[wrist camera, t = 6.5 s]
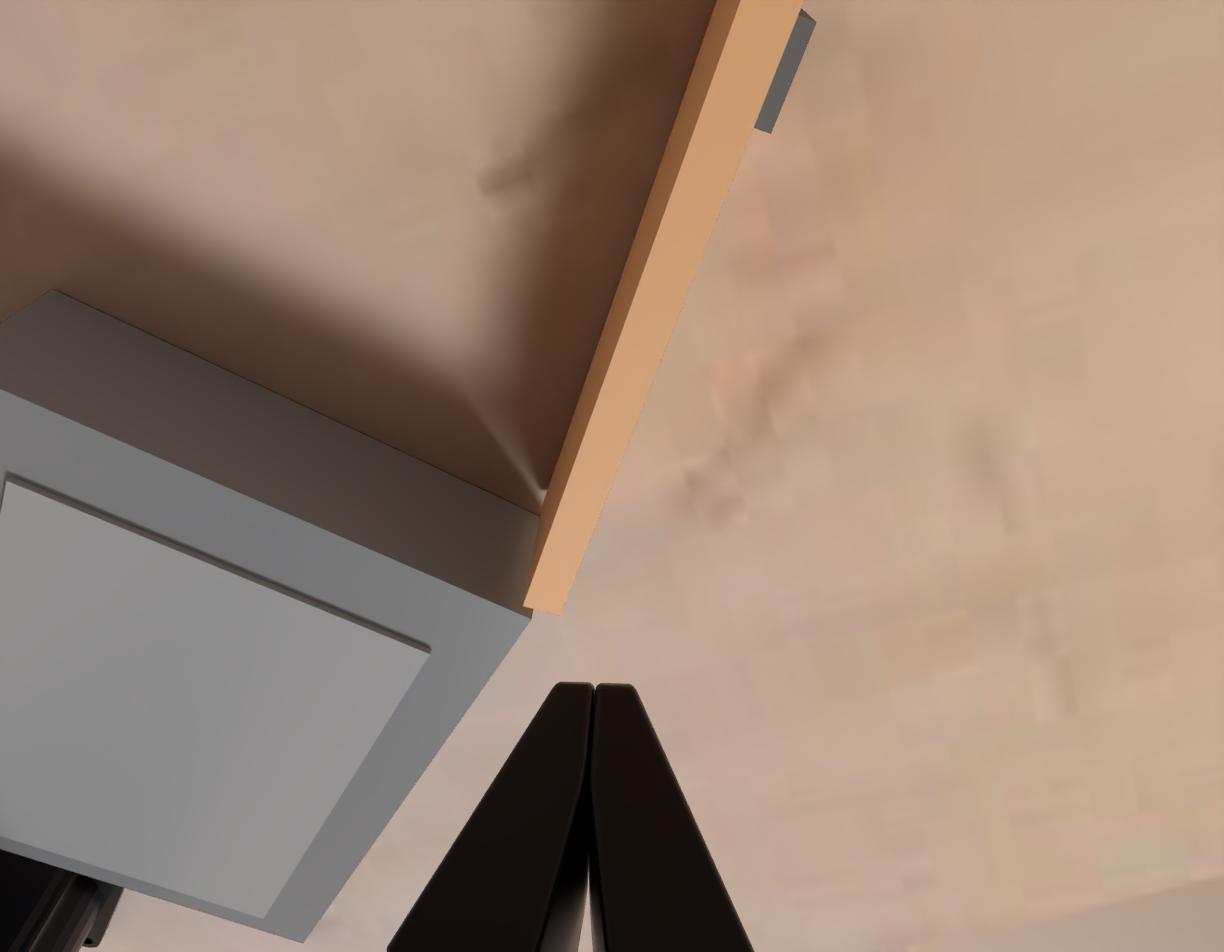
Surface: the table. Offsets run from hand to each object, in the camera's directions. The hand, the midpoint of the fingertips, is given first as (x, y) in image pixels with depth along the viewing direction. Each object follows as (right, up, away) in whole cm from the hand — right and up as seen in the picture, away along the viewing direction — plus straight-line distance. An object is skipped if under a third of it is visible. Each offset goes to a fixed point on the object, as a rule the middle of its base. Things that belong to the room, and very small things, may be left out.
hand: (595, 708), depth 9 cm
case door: (+1, +6, +8) cm, 11 cm away
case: (-10, -2, +15) cm, 18 cm away
